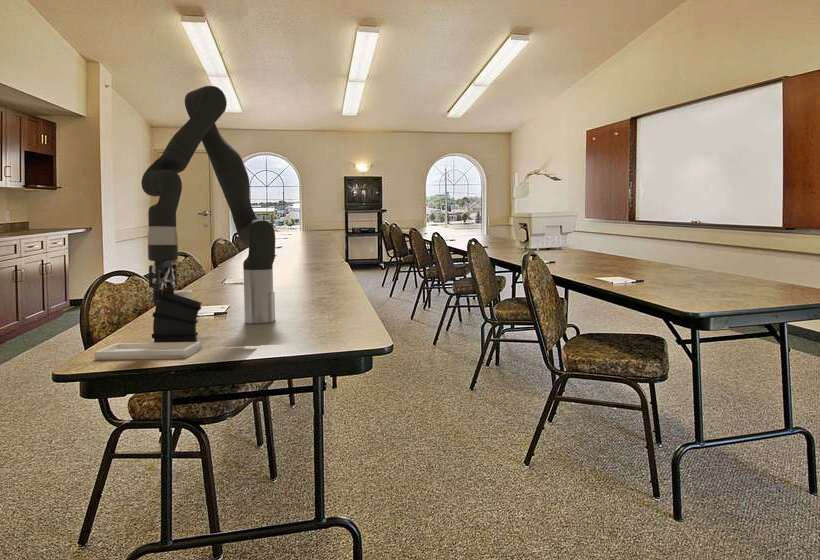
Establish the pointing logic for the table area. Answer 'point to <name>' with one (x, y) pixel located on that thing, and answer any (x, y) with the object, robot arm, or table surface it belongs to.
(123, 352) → the cradle
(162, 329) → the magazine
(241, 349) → the table surface
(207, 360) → the table surface
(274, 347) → the table surface
